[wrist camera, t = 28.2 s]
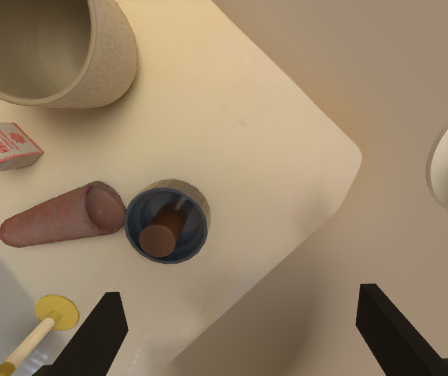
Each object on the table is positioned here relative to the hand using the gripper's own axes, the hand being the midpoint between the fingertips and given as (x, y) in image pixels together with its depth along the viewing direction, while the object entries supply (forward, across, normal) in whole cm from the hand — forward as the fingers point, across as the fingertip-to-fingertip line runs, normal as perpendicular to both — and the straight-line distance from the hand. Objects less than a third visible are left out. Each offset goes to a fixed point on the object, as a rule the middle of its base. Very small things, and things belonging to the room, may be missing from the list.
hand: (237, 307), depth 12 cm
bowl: (+30, -12, -7) cm, 33 cm away
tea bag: (+30, -38, +9) cm, 49 cm away
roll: (+30, -12, -7) cm, 33 cm away
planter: (+30, -21, +22) cm, 43 cm away
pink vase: (+30, -32, -4) cm, 44 cm away
